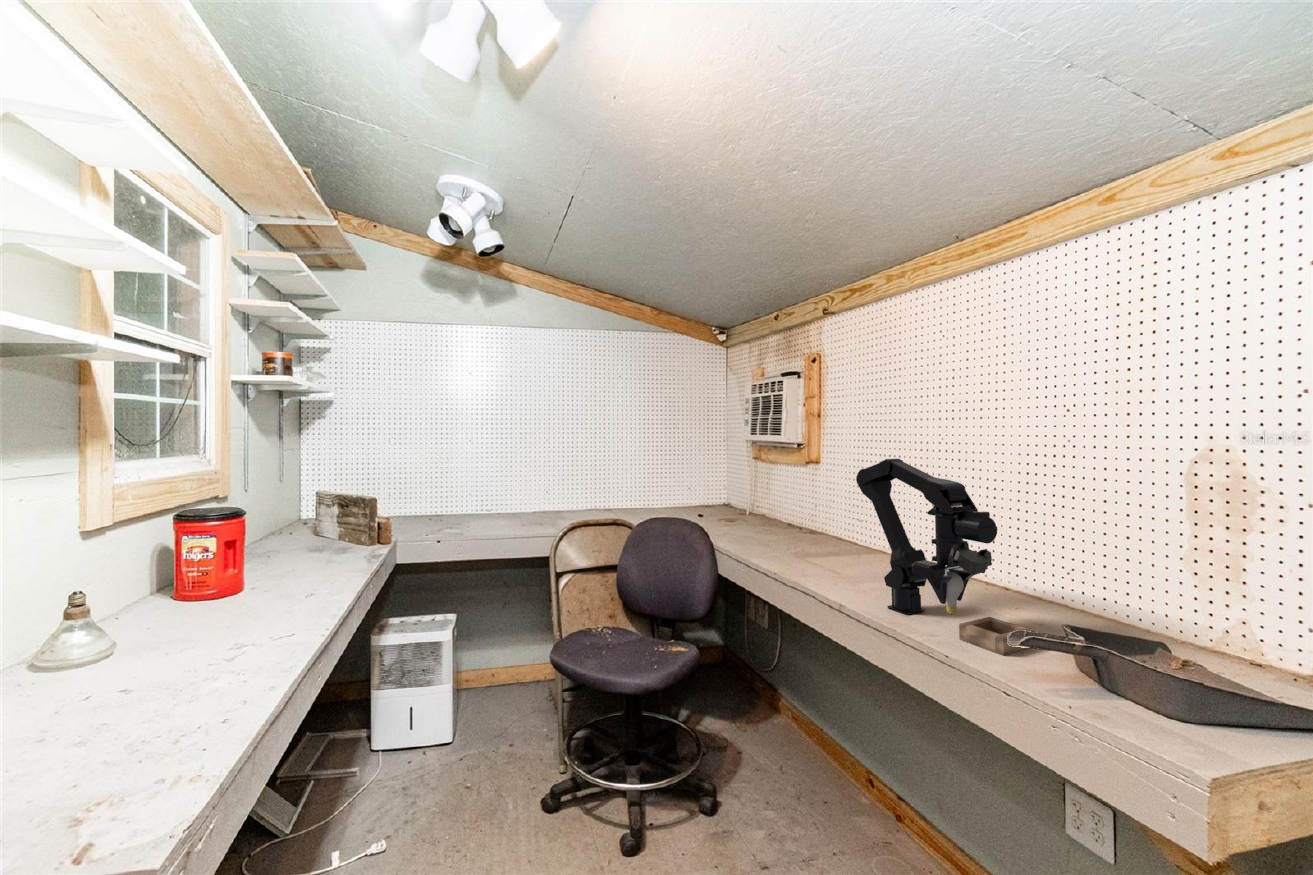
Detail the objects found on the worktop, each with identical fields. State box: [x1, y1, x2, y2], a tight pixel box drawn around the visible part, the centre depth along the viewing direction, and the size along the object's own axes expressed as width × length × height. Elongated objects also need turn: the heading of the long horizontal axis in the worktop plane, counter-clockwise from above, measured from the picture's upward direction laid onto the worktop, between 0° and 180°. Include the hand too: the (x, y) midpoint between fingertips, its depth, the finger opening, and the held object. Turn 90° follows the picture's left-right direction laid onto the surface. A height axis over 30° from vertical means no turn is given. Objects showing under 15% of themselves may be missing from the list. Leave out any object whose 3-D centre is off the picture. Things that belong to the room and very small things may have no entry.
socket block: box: [958, 616, 1035, 657], centre depth 119 cm, size 10×10×4 cm
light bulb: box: [945, 571, 964, 615], centre depth 129 cm, size 6×6×10 cm
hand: (950, 602), depth 129 cm, fingers closed on light bulb, 5 cm apart
